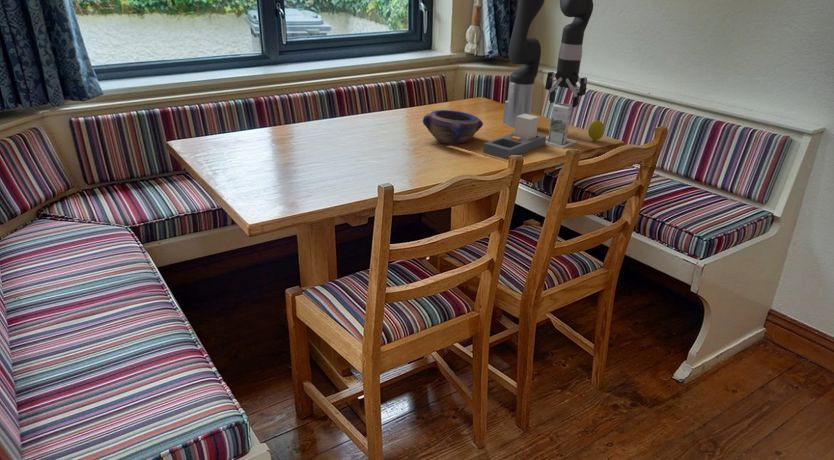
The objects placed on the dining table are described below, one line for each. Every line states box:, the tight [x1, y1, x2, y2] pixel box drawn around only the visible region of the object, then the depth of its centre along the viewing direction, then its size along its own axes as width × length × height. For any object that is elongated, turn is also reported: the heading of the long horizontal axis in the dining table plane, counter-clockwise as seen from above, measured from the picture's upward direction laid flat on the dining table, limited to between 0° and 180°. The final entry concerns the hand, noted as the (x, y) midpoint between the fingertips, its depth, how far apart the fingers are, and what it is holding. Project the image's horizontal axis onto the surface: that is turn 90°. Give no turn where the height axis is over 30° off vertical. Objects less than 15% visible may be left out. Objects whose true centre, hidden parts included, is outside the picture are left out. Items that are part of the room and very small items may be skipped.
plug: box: [513, 114, 539, 141], centre depth 213 cm, size 6×6×10 cm
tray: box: [545, 135, 578, 149], centre depth 220 cm, size 10×10×2 cm
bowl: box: [422, 109, 484, 146], centre depth 216 cm, size 18×18×10 cm
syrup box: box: [547, 102, 573, 146], centre depth 217 cm, size 6×6×14 cm
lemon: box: [587, 119, 605, 142], centre depth 225 cm, size 6×6×8 cm
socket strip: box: [482, 131, 547, 163], centre depth 210 cm, size 10×24×5 cm, turn 140°
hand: (563, 104), depth 214 cm, fingers open, 8 cm apart
